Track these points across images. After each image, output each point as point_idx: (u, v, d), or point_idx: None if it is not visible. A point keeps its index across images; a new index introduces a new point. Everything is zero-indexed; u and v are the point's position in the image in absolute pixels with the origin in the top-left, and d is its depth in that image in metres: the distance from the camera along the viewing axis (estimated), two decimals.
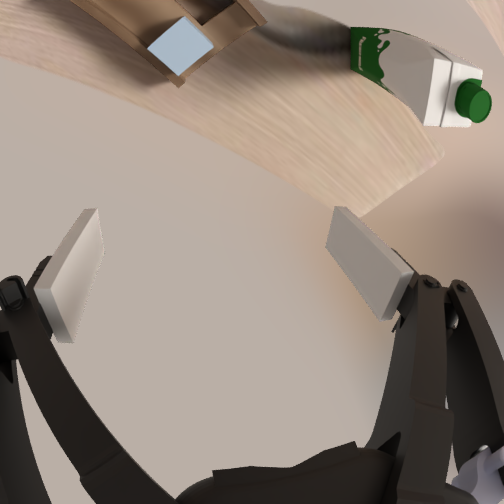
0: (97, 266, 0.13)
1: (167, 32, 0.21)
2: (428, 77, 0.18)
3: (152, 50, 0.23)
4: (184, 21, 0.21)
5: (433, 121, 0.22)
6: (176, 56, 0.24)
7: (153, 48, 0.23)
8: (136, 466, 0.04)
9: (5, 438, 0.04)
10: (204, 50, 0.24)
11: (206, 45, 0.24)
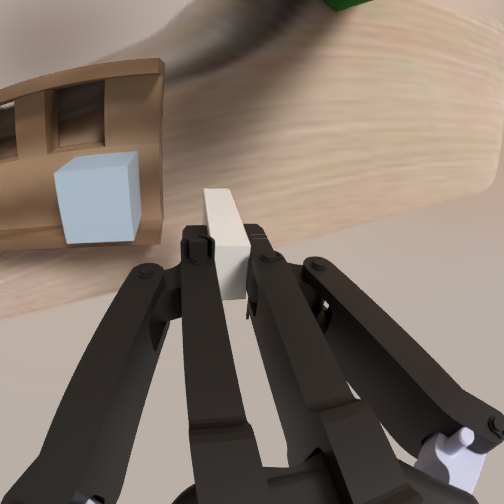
0: None
1: (61, 206, 0.15)
2: None
3: (74, 240, 0.16)
4: (60, 175, 0.14)
5: None
6: (103, 222, 0.16)
7: (72, 237, 0.16)
8: (254, 442, 0.04)
9: (121, 404, 0.06)
10: (122, 181, 0.15)
11: (117, 173, 0.15)
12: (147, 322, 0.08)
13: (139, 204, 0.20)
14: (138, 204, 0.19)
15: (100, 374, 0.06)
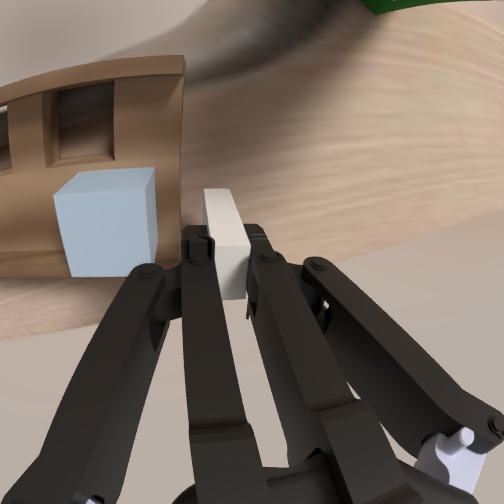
0: None
1: (64, 235, 0.13)
2: None
3: (80, 273, 0.14)
4: (62, 198, 0.12)
5: None
6: (115, 254, 0.14)
7: (78, 270, 0.14)
8: (254, 442, 0.04)
9: (122, 404, 0.06)
10: (138, 207, 0.13)
11: (132, 197, 0.13)
12: (147, 322, 0.08)
13: (156, 229, 0.17)
14: (155, 230, 0.17)
15: (99, 374, 0.06)
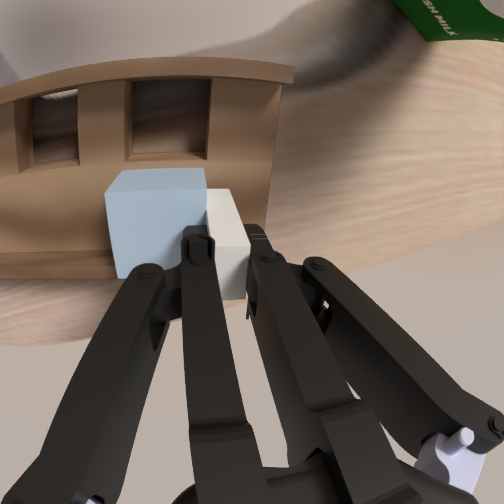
0: None
1: (114, 235, 0.13)
2: None
3: None
4: (114, 196, 0.12)
5: None
6: (169, 255, 0.15)
7: (125, 271, 0.14)
8: (254, 442, 0.04)
9: (121, 404, 0.06)
10: (199, 208, 0.14)
11: (193, 197, 0.13)
12: (147, 322, 0.08)
13: None
14: None
15: (100, 374, 0.06)
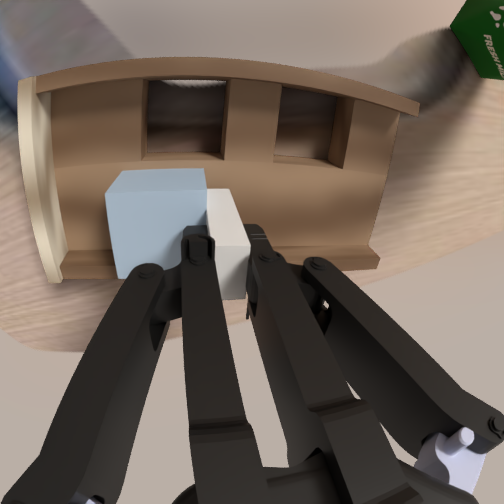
0: None
1: (114, 235, 0.13)
2: None
3: None
4: (114, 196, 0.12)
5: None
6: (169, 255, 0.15)
7: (125, 271, 0.15)
8: (254, 442, 0.04)
9: (122, 404, 0.06)
10: (199, 208, 0.14)
11: (193, 198, 0.13)
12: (147, 322, 0.08)
13: None
14: None
15: (100, 374, 0.06)
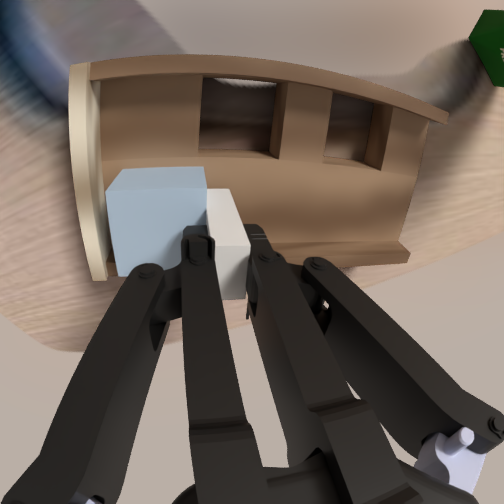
0: None
1: (114, 233, 0.13)
2: None
3: (128, 273, 0.15)
4: (115, 194, 0.12)
5: None
6: (169, 252, 0.15)
7: (126, 269, 0.15)
8: (254, 442, 0.04)
9: (122, 404, 0.06)
10: (199, 206, 0.14)
11: (193, 195, 0.13)
12: (147, 322, 0.08)
13: None
14: None
15: (100, 374, 0.06)
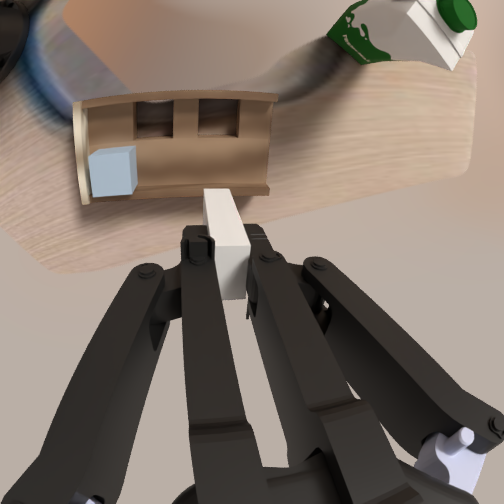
0: None
1: (91, 175, 0.28)
2: (419, 31, 0.16)
3: (97, 195, 0.29)
4: (92, 157, 0.27)
5: (454, 59, 0.17)
6: (115, 183, 0.29)
7: (96, 193, 0.29)
8: (254, 442, 0.04)
9: (121, 404, 0.06)
10: (126, 160, 0.28)
11: (123, 156, 0.28)
12: (147, 322, 0.08)
13: (136, 176, 0.33)
14: (135, 176, 0.32)
15: (99, 374, 0.06)
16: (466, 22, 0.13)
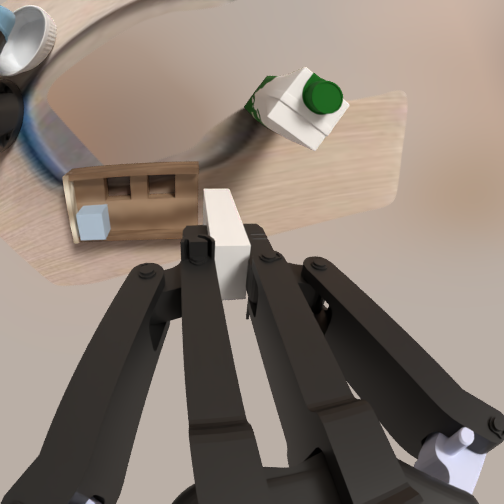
0: None
1: (79, 226, 0.43)
2: (281, 127, 0.31)
3: (83, 239, 0.44)
4: (78, 215, 0.42)
5: (318, 140, 0.32)
6: (94, 232, 0.44)
7: (83, 238, 0.44)
8: (254, 442, 0.04)
9: (121, 404, 0.06)
10: (100, 218, 0.43)
11: (98, 215, 0.43)
12: (147, 322, 0.08)
13: (109, 225, 0.47)
14: (108, 225, 0.47)
15: (99, 374, 0.06)
16: (327, 107, 0.28)
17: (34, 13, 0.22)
